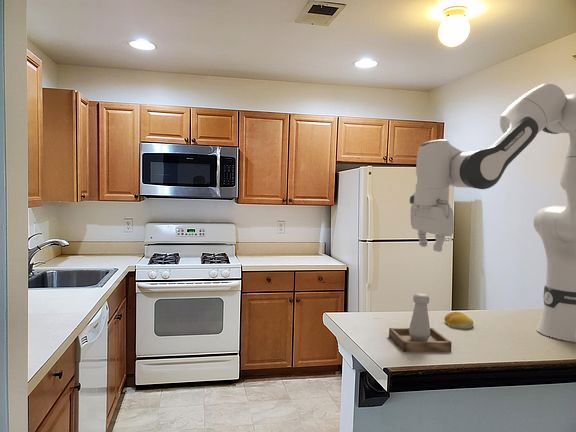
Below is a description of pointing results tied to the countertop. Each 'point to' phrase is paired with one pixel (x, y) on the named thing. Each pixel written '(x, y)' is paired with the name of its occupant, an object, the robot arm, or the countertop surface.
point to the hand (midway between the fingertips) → (430, 248)
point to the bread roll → (458, 320)
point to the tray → (406, 344)
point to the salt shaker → (420, 319)
